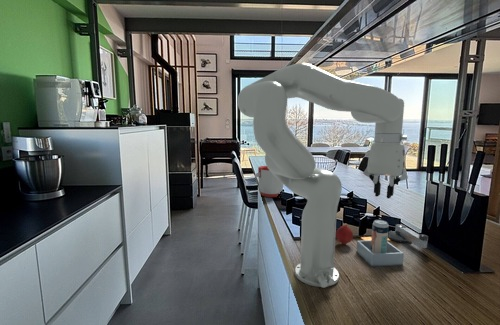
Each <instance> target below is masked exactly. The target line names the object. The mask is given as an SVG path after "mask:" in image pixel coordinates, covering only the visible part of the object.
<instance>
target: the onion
mask: <svg viewBox="0 0 500 325" xmlns="http://www.w3.org/2000/svg"><path fill="white" fill-rule="evenodd" d="M335 238H336V239H337V241H338V242H339V243H340V244H342V245H344V246H345V245H347V244H349V243H351V242H352V240H353V238H354V233H353V231H352V229H351V228H350V227H349V226H348V223H344V224H343V225H341V226H340V227H339V228H337V229H336V234H335Z"/></svg>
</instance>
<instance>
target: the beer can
mask: <svg viewBox="0 0 500 325" xmlns="http://www.w3.org/2000/svg"><path fill="white" fill-rule="evenodd" d="M371 226H372V227H371V237H372V238H371V252H372V253H373V254H378V253H386V252H387V240H388V239H389V228H390V226H389V223H388V221H386V220H383V219H375V220H373V223H372V225H371Z"/></svg>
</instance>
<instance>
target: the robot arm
mask: <svg viewBox="0 0 500 325" xmlns="http://www.w3.org/2000/svg"><path fill="white" fill-rule="evenodd" d="M292 98H293V99H294V98H299V99H302V100H304V101H308V102H309V103H312V104H315V105H318V106H319V107H321V108H322V107H323V108H325V109H327V110H332V111H337V112H348V113H349V112H350V114H351V117H352V118H353V119H354V121H357V122H359V123H364V124H365V123H366V124H367V123H368V124H371V123H372V124H373V123H375V124H374V125H375V126H374V138H373V139H374V141H373V142H372V143H371V146H370V150H369V152H368V160H367V166H366V168H365V169H364V171H363V174H364V176H366V177H368V178H369V179H370V180H371V181H372V183H373V184H374V185H373V194H374V197H379V196H380V195H381V187H382V186H381V185H382V184H381V181H380V180H381V176H387V177H389V183H388V185H387V187H386V188H387V189H386V199H391V198H392V197H393V196H394V191H395V185H396V184H398V183H399V182H402V181H406V180H408V179H409V176H408V174H407V171H406V169H405V166H406V165H405V164H406V152H405V144H404V143H402V142H404V141H408V140H407V139H408V136H407V135H403V124H404V123H403V122H404V113H405V112H404V110H405V100H403V99H402V98H399V97H397V95H395V94H394V93H392V92H390V91H387V90H385V89H383V88H381V87H378V86H374V85H370V84H366V83H361V82H357V81H354V80H353V81H352V80H347V79H343V78H341V77H339V76H336V75H334V74H332V73H330V72H329V71H326V70H323V69H321V68H320V67H318V66H315V65H313V64H310V63H307V62H297V63H294V64H291V65H287V66H284V67H282V68H279V69H277V70H275V71H274V72H271V73H270V74H268V75H266V76H264V77H262V78H260V79H258V80H256V81H254V82H252V83H250V84H248V85H246V86H244V87H243V88H242V89H241V90H240V91H239V94H238V97H237V107H238V110H239V111H240V112H241V113H242V114H243V115H244V116H246V117H248V118H253V119H252V120H253V121H252V122H253V125H252V126H253V135H254V139H255V141H256V143H257V145H258V146H259V147H260V149H261V150H262V151H263V153H265V155H264V162H265V164H266V165H265V166H267V167H268V169H269V170H270V172H271V173H272V174H273V175H274V176H275V177H276V178H278V179H279V180H280V181H281V182H282V183H283V186H285V187H286V189H288V190H290V191H291V193H293V194H295V195H297V196H300V197H302V198H304V199H305V200H306V205H305V206H304V208H303V210H302V214H301V236H300V237H301V240H300V263H298V264H297V265H296V266H295V267H294V268H295V269H294V275H295V277H296V278H297V280H299V281H300V282H302V283H304V284H305V285H308V286H312V287H318V288H320V287H321V288H323V289H324V288H327V287H330V286H333V285H335V284H337V283H338V282H339V279H340V274H339V273H340V272H339V271H338V269H336V267H335V253H336V252H335V251H336V250H335V249H336V232H337V213H338V207H339V202H340V200H341V199H340V198H341V195H342V189H343V185H342V181H341V179H340V178H339V177H338V175H336V174H335V173H334V172H332V171H330V170H327V169H325V168H320V167H317V166H316V160H315V157H314V155H313V154H312V152H311V151H310V150H309V149H308V148H307V147H306V146H305V145H304V144H303V142H301V140H300V139H299V138H297V136H296V135H295V134H294V133H293V131H292V130H291V129H290V127H289V125H288V124H287V119H286V118H287V117H286V114H287V106H288V99H292Z"/></svg>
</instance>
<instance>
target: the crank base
mask: <svg viewBox="0 0 500 325" xmlns="http://www.w3.org/2000/svg"><path fill="white" fill-rule="evenodd" d="M371 238H372V236H363V237H362V236H361V237H360V240H361V241H363V240H371ZM387 241H388V242H391V241H393V242H396V243H397V242H398V243H404V244H409V243H411V242H410V241H408V240H407V239H405V238H404V237H402V236H400V235H398V234H396V233H395V231H392V230H388V240H387Z"/></svg>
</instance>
